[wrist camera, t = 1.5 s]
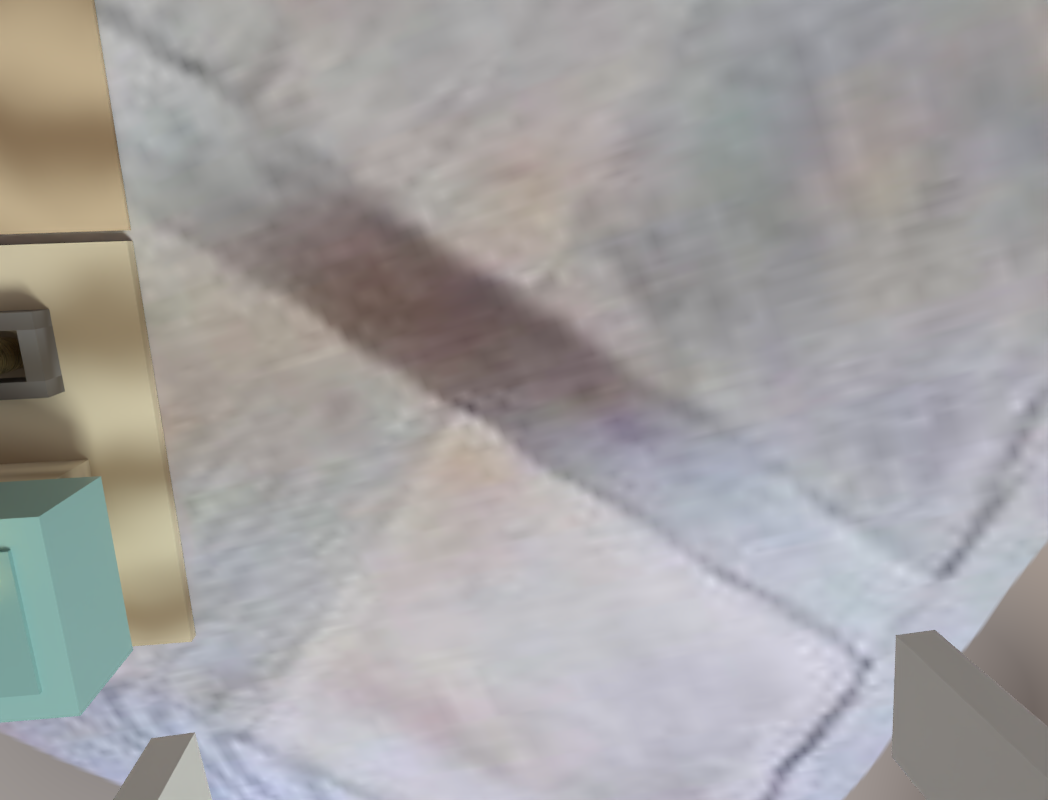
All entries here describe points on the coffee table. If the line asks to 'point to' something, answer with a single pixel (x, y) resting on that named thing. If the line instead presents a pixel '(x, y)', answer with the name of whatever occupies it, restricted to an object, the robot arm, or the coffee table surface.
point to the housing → (94, 412)
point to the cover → (57, 598)
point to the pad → (56, 122)
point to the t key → (10, 355)
